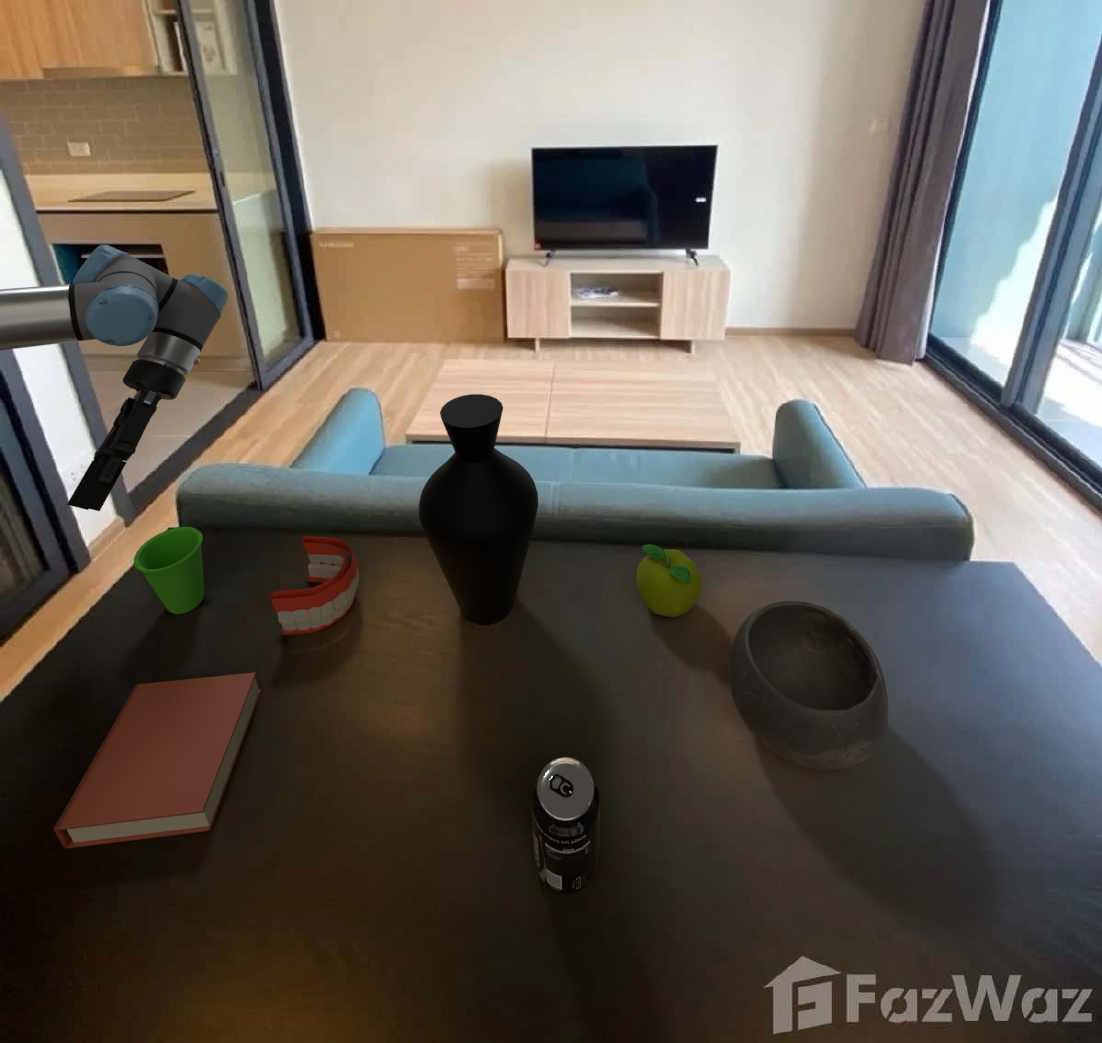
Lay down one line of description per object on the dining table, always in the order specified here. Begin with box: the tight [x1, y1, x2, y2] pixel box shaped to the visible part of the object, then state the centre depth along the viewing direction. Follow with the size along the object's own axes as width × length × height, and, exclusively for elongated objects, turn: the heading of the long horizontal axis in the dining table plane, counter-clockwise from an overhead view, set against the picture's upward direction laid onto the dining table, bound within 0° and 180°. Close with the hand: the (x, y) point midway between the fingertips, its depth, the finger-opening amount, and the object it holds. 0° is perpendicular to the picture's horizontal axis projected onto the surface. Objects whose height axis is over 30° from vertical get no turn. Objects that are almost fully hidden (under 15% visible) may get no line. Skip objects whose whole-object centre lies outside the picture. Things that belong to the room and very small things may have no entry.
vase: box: [418, 393, 539, 626], centre depth 86 cm, size 17×17×35 cm
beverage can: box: [530, 756, 601, 895], centre depth 60 cm, size 7×7×12 cm
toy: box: [269, 535, 360, 636], centre depth 91 cm, size 12×10×8 cm
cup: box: [133, 526, 206, 615], centre depth 92 cm, size 9×9×11 cm
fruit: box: [635, 543, 702, 618], centre depth 89 cm, size 9×9×10 cm
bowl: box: [727, 600, 889, 771], centre depth 73 cm, size 18×18×13 cm
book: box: [53, 671, 262, 850], centre depth 71 cm, size 15×16×4 cm
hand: (82, 508), depth 81 cm, fingers open, 13 cm apart
